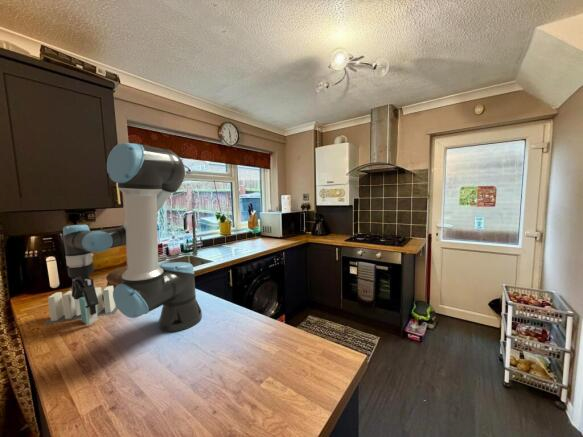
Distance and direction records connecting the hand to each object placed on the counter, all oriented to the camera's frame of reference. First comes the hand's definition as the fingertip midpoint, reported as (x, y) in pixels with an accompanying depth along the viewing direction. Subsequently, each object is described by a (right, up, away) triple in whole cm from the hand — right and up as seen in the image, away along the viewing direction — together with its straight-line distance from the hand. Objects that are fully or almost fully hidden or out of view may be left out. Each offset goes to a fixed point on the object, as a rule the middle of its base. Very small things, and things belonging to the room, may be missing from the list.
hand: (87, 317), depth 94 cm
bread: (+1, +1, +29) cm, 29 cm away
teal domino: (0, -2, 0) cm, 2 cm away
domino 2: (-11, -1, +5) cm, 12 cm away
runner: (-7, -1, +7) cm, 9 cm away
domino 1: (-15, -2, +4) cm, 16 cm away
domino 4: (+2, 0, +9) cm, 10 cm away
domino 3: (-2, -1, +8) cm, 8 cm away
